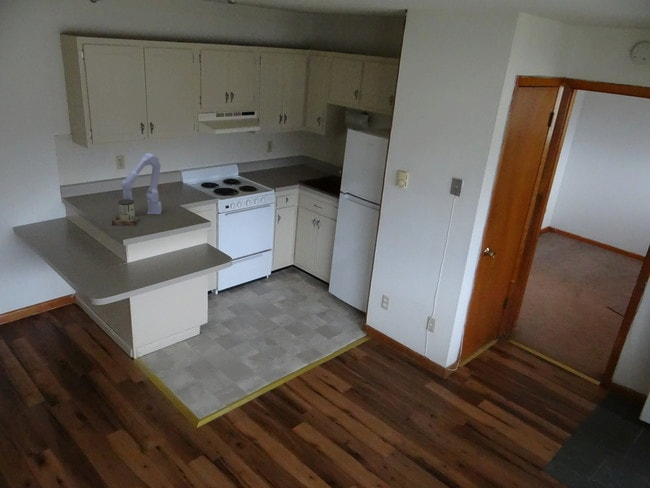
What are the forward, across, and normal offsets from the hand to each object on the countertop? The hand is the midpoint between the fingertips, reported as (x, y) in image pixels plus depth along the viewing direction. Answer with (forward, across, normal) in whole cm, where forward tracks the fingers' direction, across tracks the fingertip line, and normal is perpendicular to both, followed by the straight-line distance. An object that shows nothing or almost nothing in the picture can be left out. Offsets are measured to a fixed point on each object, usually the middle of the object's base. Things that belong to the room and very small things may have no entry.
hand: (129, 214), depth 358 cm
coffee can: (+2, +8, 0) cm, 8 cm away
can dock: (+1, +12, 0) cm, 12 cm away
